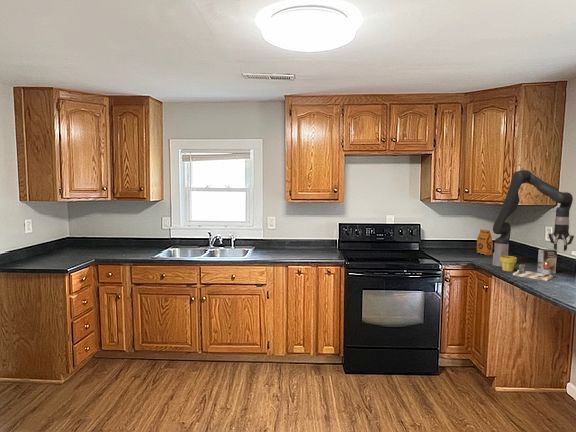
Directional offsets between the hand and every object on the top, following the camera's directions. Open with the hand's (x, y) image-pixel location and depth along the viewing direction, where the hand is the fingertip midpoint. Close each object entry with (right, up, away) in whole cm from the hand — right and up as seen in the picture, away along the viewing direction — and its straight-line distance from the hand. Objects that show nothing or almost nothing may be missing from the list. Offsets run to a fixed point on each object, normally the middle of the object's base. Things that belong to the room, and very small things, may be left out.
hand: (560, 250), depth 248 cm
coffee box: (+7, -18, +23) cm, 30 cm away
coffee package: (0, -12, +96) cm, 97 cm away
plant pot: (-17, -17, +29) cm, 38 cm away
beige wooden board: (-11, -18, +10) cm, 24 cm away
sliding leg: (-6, -17, +5) cm, 19 cm away
